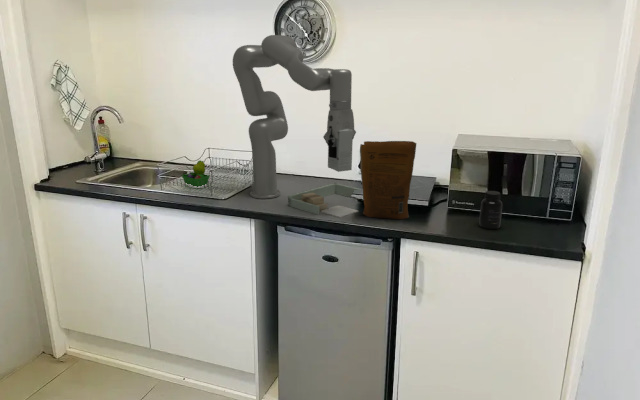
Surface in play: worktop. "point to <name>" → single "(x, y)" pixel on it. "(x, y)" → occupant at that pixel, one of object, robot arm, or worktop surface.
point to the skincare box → (342, 152)
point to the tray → (321, 191)
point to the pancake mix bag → (386, 177)
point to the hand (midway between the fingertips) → (339, 155)
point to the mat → (339, 211)
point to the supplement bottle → (491, 210)
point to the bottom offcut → (322, 206)
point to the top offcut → (312, 198)
